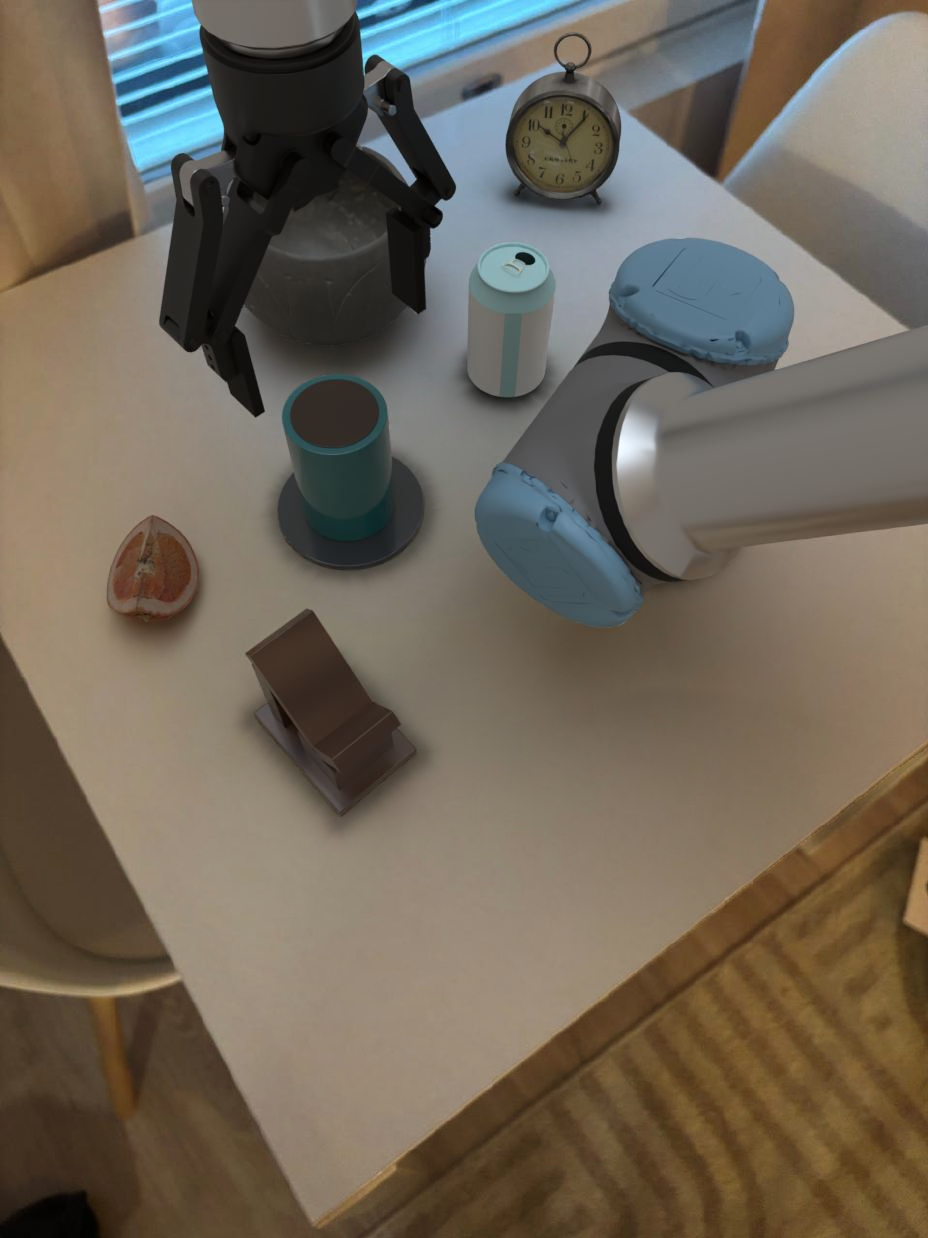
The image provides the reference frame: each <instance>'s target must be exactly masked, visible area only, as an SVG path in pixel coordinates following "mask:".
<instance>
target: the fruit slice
mask: <svg viewBox="0 0 928 1238" xmlns="http://www.w3.org/2000/svg"><path fill="white" fill-rule="evenodd" d="M119 545H120V546H119V547H118V548H117V551H116V554H115V555H114V558H113V560H112V563H111V566H110V569H109V573H108V577H107V583H106V602H107V606H108V607H109V609H111V611H113V612H114V613H116V614H119V615H123V616H125V617H129V618H133V619H137V620H144V621H145V622H148V621H164V620H167V619H170V618H171V617H174V616H175V615H177V614H178V613H180V612H181V611H182V610H184V609H185V608H186V607H187V606H188V605H189V604H190V602H191V601H192V599H193V598H194V596H195V594H196V592H197V589H198V586H199V583H200V567H199V562H198V559H197V556H196V553H195V551H194V549H193V547H192V544H191V543H190V541H189V540H188V539H187V538H186V536H185V535H184V534H183V533H182V532H181V531H180V530H179V528H178V529H177V528H176V527H175V526H174V525H172V524H171V523H170V522H169V521H167V520H165V519H164V518H161V517H159V516H157V515H154V514H151V515H149V516H147V517H145V519H143V520H142V521H140V522H139V523H137V524H136V525H135V526H133V528H132V529H131V530H130V532H128V534H126V536H125V538H124V539H123V540H122V542H121V544H119Z"/></svg>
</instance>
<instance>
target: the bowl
mask: <svg viewBox="0 0 928 1238" xmlns="http://www.w3.org/2000/svg"><path fill="white" fill-rule="evenodd" d="M356 147H358V148H359V149H360V150H362V151H363V152H364V153H366V154H367V155H368V156H369V157H371V158H372V159H373V160H375V161H376V162H377V163H379V164H380V165H381V166H383V167H384V168H385V169H387V170H388V171H389V172H391V173H392V174H393V175H394V176H396V177H397V178H398V179H400V180H401V181H402V182H404V183H405V184H406V185H408V186H409V187H410V185H409V184H408V182H407V181H406V179H405V178H404V176H403V175H402V174H401V172H400V171H399V170H398V169H397V167H396V166H395V165H394V163H392V162H391V161H390V160H389V159H388V158H387V157H386V156H384V155H382V154H381V153H379V152H378V151H376V150H373V148H370V147H367V146H365V145H364V146H362V145H360V144H359V143H357V145H356ZM229 186H230V187H231V185H229ZM230 187H228V188H229V189H228V190H227V195H228V192H229V190H230ZM253 198H254V201H255V202H256V203H257V204H258V205H259V206H261V207H262V208H263V209H264V210H265V208H266V205H267V203H268V200H266V199H265V198H263V197H262V196H261V195H259V194H258V193H257V192H254V196H253ZM394 207H396V208H397V209H398V210H400V211H401V207H400V206H399V205H398V204H396V203H395V202H393V201H392V200H390V199H389V198H388V197H386V196H385V195H383V194H382V193H381V192H379V191H378V190H376V189H375V188H374V187H372V186H371V185H369V184H368V183H366V182H365V181H363V180H362V179H360V178H359V177H358V176H356V175H355V174H353V173H352V172H351V171H349V170H348V169H347V171H346V173H345V175H344V176H343V178H342V179H341V180H340V181H339V188H337V189H335V190H333V191H331V192H330V193H327V194H323V195H319V196H316V197H315V198H314V199H313V200H312V201H311V202H309V203H308V204H307V205H306V206H305V207H303V208H301V209H299V210H297V211H296V212H294V211H293V210H291V211H290V213H289V215H288V218H287V220H286V223H285V225H284V227H283V230H282V232H281V233H280V234H279V235H276V236H273V237H272V238H271V240H270V243H269V245H268V248H267V250H266V252H265V255H264V257H263V260H262V262H261V264H260V267H259V269H258V272H257V274H256V276H255V279H254V281H253V284H252V286H251V288H250V291H249V293H248V296H247V298H246V300H245V303H244V305H243V306H245V308H246V309H247V310H248V311H249V312H250V313H251V314H252V315H253V316H254V317H255V318H256V319H257V320H259V321H260V322H261V323H262V324H264V325H265V326H266V327H268V328H269V329H271V330H272V331H273V332H276V333H277V334H278V335H281V336H283V337H285V338H287V339H290V340H293V341H295V342H298V343H302V344H307V345H311V346H318V347H338V346H345V345H351V344H354V343H359V342H361V341H363V340H366V339H368V338H371V337H373V336H374V335H376V334H379V333H380V332H381V331H383V330H384V329H386V328H387V327H389V326H390V325H391V324H392V323H394V322H395V320H397V318H399V316H400V315H401V314H402V313H403V312H404V311H405V310H406V309H407V307H408V306H407V305H406V304H405V303H403V302H402V301H401V300H400V299H398V298H397V297H396V296H395V295H393V294H392V286H391V273H390V260H389V247H388V235H387V222H386V212H387V211H388V210H390V209H392V208H394ZM228 210H229V207H228V205H227V206H226V207H223V224H224V221H225V219H226V216H227V214H228ZM426 263H427V258H426V259H424V266H425V267H426Z"/></svg>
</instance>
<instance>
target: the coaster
mask: <svg viewBox="0 0 928 1238" xmlns="http://www.w3.org/2000/svg"><path fill="white" fill-rule="evenodd" d="M391 456H392V455H391ZM392 467H393V479H394V490H395V509H394V512H393V515H392V517H391V519H390V520H389V522H388V523H387V524H386V525H385V527H384V528H383V529H381V530H380V531H379V532H377V533H376V534H374V535H372V536H370V537H368V538H365V539H362V540H358V541H351V542H343V541H336V540H332V539H329V538H326V537H324V536H322V535H320V534H319V533H317V532H316V531H315V530H314V529H312V527H311V526H310V525H309V524H308V522H307V521H306V518H305V516H304V513H303V509H302V504H301V500H300V496H299V492H298V487H297V483H296V479H295V475H294V471H293V472H292V473H291V474H290V475H289V477H287V479H286V481H285V483H284V484H283V486H282V489H281V491H280V493H279V497H278V501H277V509H276V510H277V520H278V523H279V528H280V530H281V533H282V535H283V536H284V538H285V541H286V542H287V543H288V545H290V547H291V548H292V549H293V550H294V551H295V552H296V553H297V554H298V555H300V556H301V557H302V558H304V559H306V560H307V561H309V562H310V563H313V564H315V565H318V566H321V567H324V568H328V569H333V570H341V571H356V570H363V569H367V568H372V567H375V566H378V565H381V564H384V563H385V562H387V561H389V560H391V559H393V558H395V557H397V555H399V554H400V553H401V552H403V551H404V550H405V549H406V548H408V546H409V545H410V544H411V543H412V541H413V540H414V539H415V537H416V536H417V534H418V532H419V531H420V528H421V525H422V523H423V520H424V513H425V500H424V493H423V490H422V487H421V485H420V482H419V480H418V479H417V477H416V476H415V474H414V472H413V471H412V470H411V469H410V468H409V467H408V466H407V465H406V464H404V463H403V462H402V461H401V460H400V459H397V458H396V457H394V455H393V456H392Z"/></svg>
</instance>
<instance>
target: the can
mask: <svg viewBox="0 0 928 1238" xmlns="http://www.w3.org/2000/svg"><path fill="white" fill-rule="evenodd" d="M556 287H557V283H556V277H555V275H554V273H553V271H552V269H551V266H550V261H549V260H548V258H547V256H546V255H545V253H543V252H542V251H541V250H540V249H539V248H536V246H535V247H534V246H532V245H531V244H528V243H524V242H519V241H506V242H500V243H497V244H494V245H492V246H490V247H488V248H487V249H486V250H484V251H483V252H482V253H481V255H480V256H479V258H478V259H477V263H476V265H475V266H474V267H473V269H472V270H471V272H470V274H469V278H468V304H467V305H468V307H467V308H468V309H467V310H468V311H467V352H466V355H467V356H466V357H467V358H466V369H467V370H466V371H467V374H468V377H469V379H470V381H471V382H472V383H473V385H475V386H476V387H477V388H478V389H479V390H481V391H482V392H484V393H486V394H489V395H491V396H495V397H500V398H515V397H521V396H524V395H527V394H529V393H530V392H533V391H534V390H535V389H536V388H538V387H539V386H540V385H541V383H542V382H543V380H544V378H545V374H546V370H547V369H546V368H547V362H548V361H547V360H548V353H549V346H550V345H549V343H550V336H551V329H552V322H553V321H552V320H553V312H554V305H555V304H554V303H555V295H556Z"/></svg>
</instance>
